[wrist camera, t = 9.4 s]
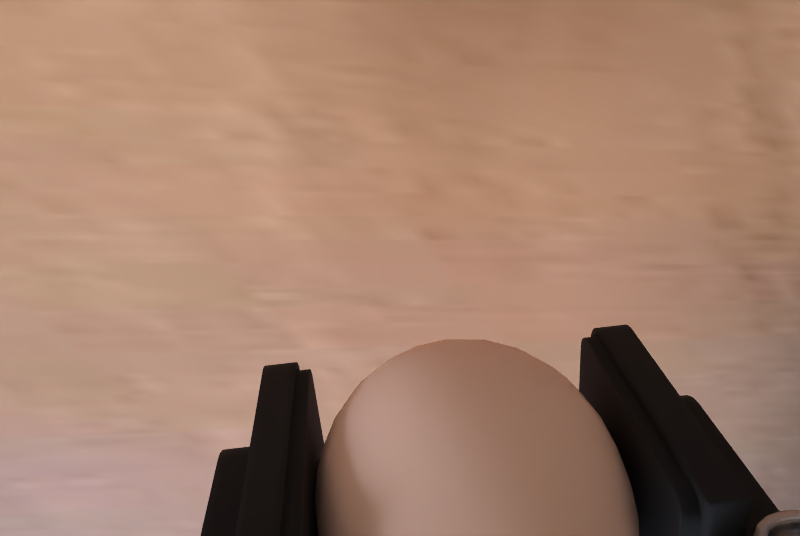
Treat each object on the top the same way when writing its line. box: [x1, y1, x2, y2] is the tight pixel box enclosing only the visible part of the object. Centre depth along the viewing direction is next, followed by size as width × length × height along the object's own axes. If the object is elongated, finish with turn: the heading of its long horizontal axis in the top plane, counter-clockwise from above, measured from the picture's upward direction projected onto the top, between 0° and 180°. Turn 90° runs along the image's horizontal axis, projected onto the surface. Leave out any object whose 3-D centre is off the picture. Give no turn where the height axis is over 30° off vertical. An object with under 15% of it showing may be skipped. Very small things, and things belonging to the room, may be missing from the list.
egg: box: [315, 340, 639, 536], centre depth 10 cm, size 4×4×6 cm
